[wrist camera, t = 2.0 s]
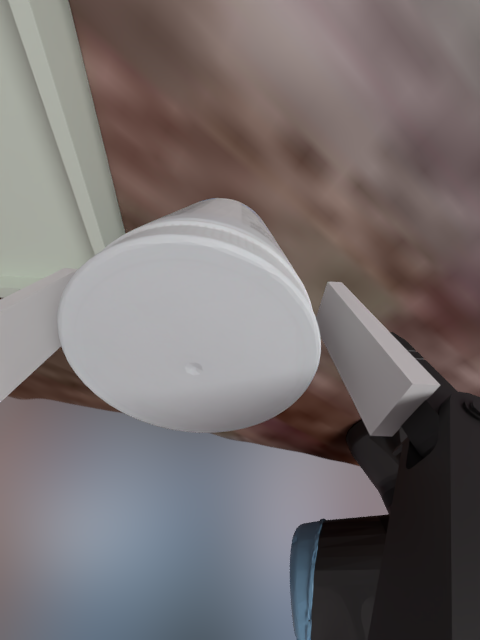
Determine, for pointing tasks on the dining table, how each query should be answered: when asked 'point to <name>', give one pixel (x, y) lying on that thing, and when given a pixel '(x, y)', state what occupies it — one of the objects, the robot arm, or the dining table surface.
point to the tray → (48, 149)
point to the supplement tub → (192, 322)
